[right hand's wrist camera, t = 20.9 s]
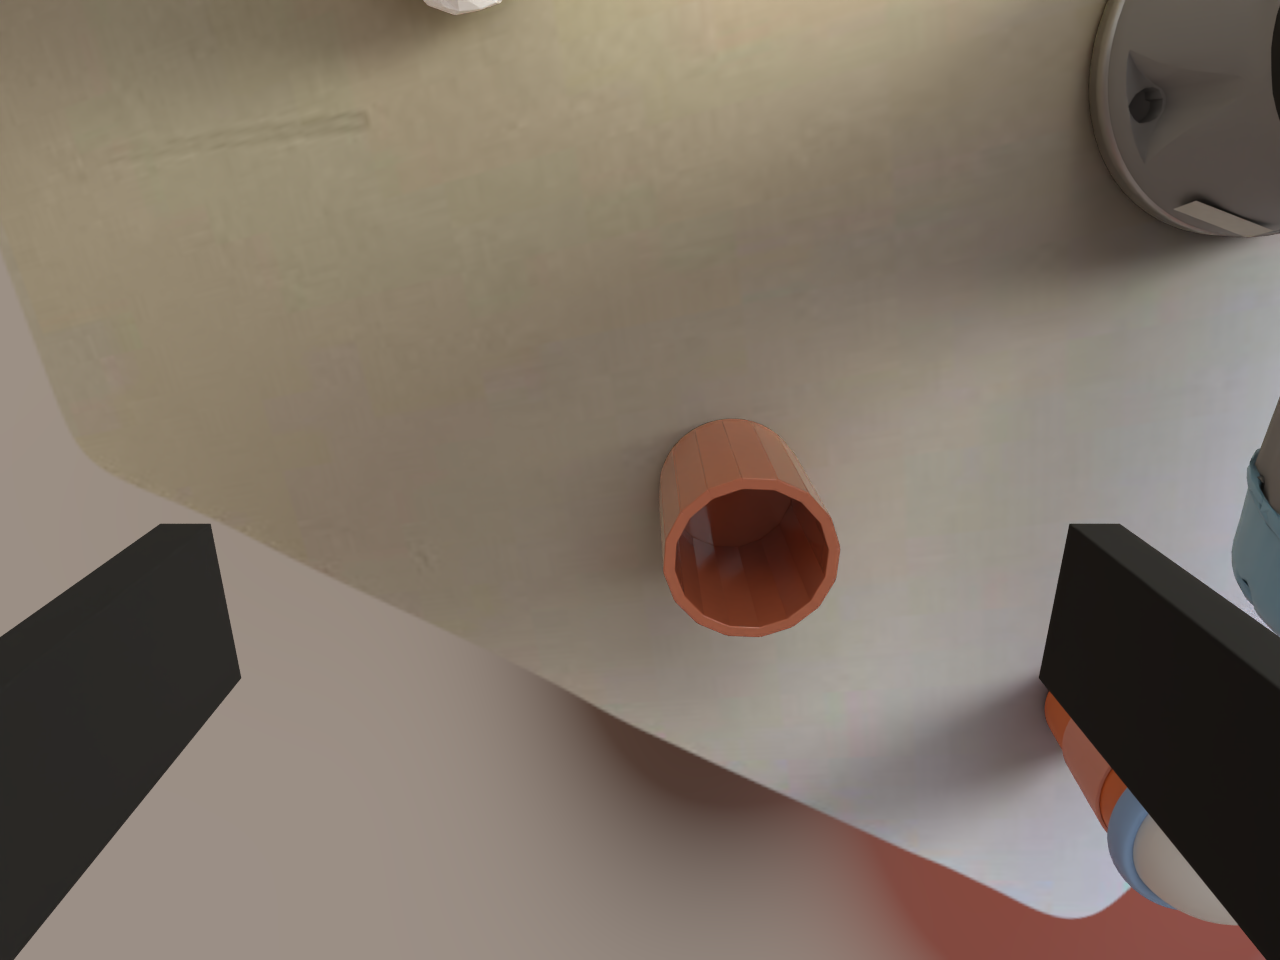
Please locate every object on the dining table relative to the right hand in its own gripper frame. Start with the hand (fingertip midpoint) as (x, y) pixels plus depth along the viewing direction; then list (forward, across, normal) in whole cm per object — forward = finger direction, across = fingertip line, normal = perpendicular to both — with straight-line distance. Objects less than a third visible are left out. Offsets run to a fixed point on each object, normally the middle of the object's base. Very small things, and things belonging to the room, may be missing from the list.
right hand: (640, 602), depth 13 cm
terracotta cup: (+29, +5, -9) cm, 30 cm away
